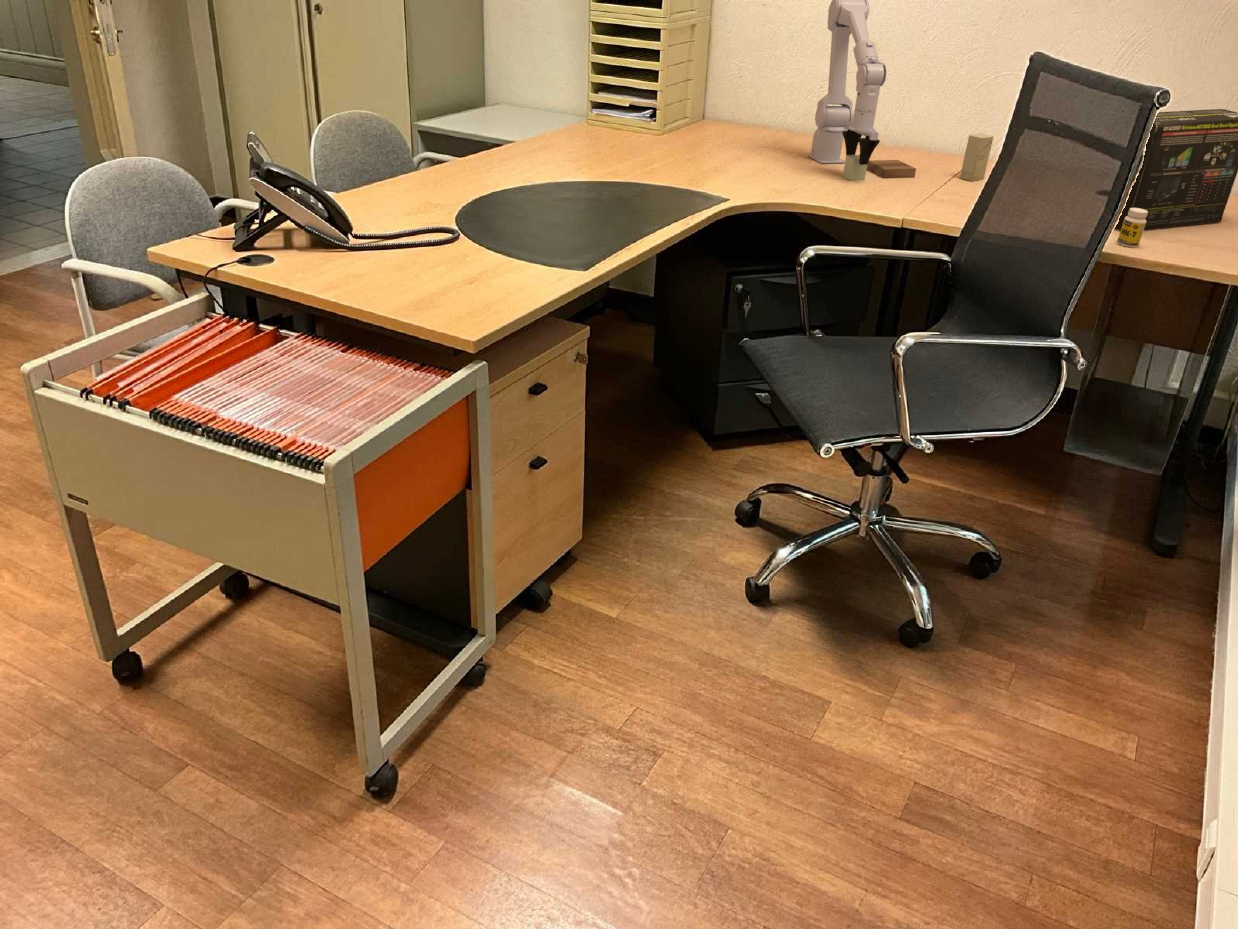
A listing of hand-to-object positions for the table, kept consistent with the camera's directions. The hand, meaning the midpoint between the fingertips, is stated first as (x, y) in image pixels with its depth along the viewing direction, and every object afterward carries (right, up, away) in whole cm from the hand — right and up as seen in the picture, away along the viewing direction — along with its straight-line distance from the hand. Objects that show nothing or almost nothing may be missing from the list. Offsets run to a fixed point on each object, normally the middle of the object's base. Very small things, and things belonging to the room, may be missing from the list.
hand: (856, 160), depth 275 cm
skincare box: (+35, -3, +9) cm, 37 cm away
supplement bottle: (+55, -32, -39) cm, 75 cm away
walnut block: (+12, -1, +10) cm, 15 cm away
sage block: (0, -4, +2) cm, 5 cm away
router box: (+73, -22, -20) cm, 79 cm away
